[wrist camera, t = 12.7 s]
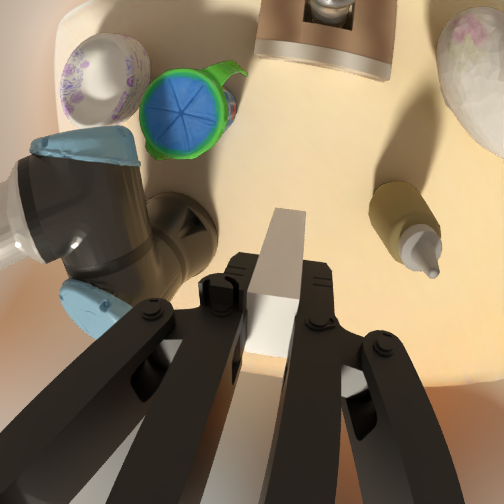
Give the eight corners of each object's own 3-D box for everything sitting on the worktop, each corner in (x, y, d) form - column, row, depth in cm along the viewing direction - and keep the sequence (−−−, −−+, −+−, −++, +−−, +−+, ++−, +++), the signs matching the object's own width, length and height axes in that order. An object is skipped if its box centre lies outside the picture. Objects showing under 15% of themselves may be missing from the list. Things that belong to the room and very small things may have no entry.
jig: (260, 58, 29) (253, 53, 26) (272, -24, 22) (267, -36, 18) (382, 82, 27) (389, 79, 24) (390, -2, 20) (397, -12, 16)
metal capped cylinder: (306, 29, 26) (301, 0, 16) (310, -2, 23) (305, -37, 14) (346, 36, 25) (357, 11, 16) (349, 6, 22) (359, -28, 13)
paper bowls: (166, 115, 36) (135, 121, 29) (95, 130, 39) (63, 140, 32) (161, 26, 28) (130, 16, 22) (89, 54, 31) (57, 54, 25)
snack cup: (195, 169, 39) (161, 190, 31) (154, 119, 36) (112, 128, 28) (279, 104, 32) (265, 103, 24) (231, 48, 29) (201, 33, 21)
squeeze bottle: (361, 177, 34) (392, 236, 19) (414, 171, 32) (476, 226, 17) (366, 230, 38) (390, 313, 23) (416, 224, 35) (463, 301, 20)
